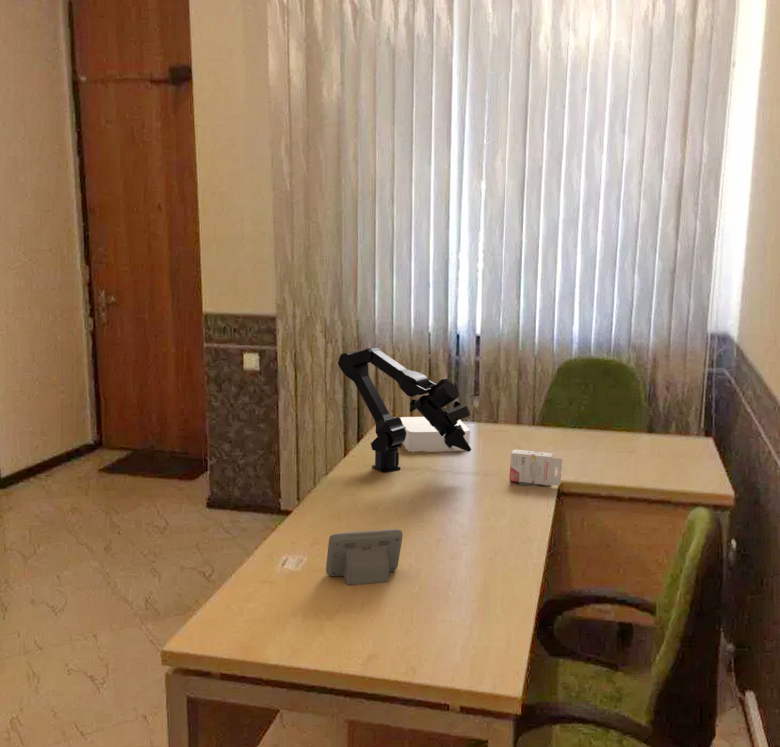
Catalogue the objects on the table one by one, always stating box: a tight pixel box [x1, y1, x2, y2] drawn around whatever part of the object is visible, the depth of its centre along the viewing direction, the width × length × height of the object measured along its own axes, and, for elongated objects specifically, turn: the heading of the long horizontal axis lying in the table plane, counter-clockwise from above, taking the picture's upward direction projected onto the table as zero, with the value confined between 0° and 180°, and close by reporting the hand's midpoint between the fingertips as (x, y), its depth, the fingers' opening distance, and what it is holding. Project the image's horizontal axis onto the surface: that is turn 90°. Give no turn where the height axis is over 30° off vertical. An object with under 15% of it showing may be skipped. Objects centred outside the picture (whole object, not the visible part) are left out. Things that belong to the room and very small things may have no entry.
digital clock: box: [325, 528, 403, 586], centre depth 188 cm, size 16×9×11 cm, turn 93°
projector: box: [399, 416, 471, 453], centre depth 297 cm, size 21×22×7 cm
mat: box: [517, 482, 542, 486], centre depth 260 cm, size 8×12×1 cm, turn 3°
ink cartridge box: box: [508, 449, 563, 486], centre depth 256 cm, size 9×5×15 cm
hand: (470, 450), depth 258 cm, fingers closed
